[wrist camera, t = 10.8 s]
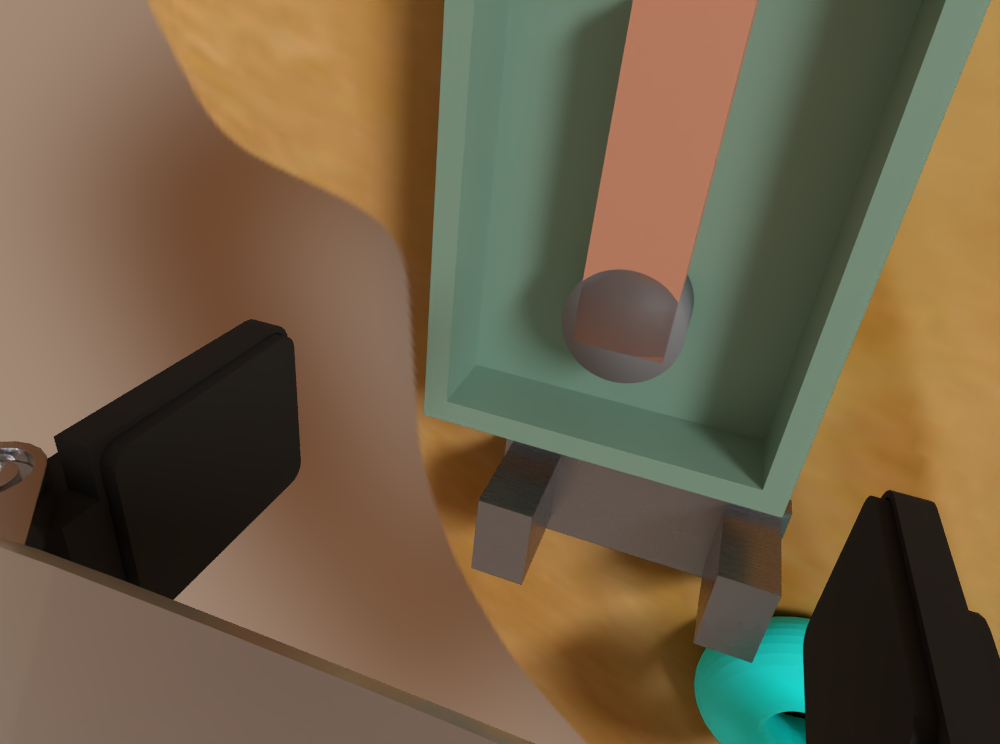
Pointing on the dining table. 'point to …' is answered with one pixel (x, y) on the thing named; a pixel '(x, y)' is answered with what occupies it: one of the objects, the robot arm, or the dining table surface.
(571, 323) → the strut
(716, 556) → the bracket
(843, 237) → the tray
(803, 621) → the donuts
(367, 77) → the dining table surface
